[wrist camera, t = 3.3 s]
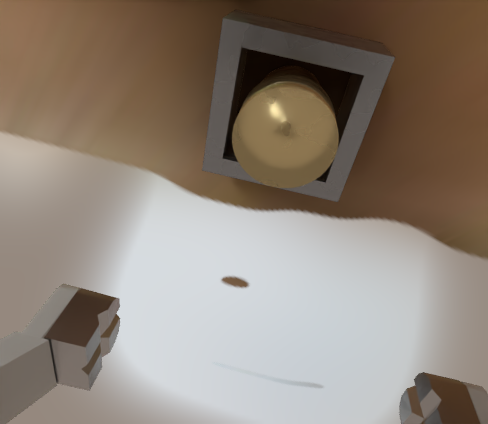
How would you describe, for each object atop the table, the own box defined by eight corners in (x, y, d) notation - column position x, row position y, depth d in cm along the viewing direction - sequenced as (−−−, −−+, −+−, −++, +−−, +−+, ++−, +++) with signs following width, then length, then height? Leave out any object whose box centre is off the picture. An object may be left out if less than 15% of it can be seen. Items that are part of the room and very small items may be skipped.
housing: (214, 145, 31) (202, 170, 27) (235, 9, 25) (222, 17, 21) (334, 172, 31) (337, 202, 27) (382, 43, 25) (395, 57, 21)
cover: (243, 127, 30) (224, 175, 23) (258, 47, 26) (242, 77, 20) (317, 144, 29) (320, 198, 23) (342, 67, 26) (354, 102, 20)
